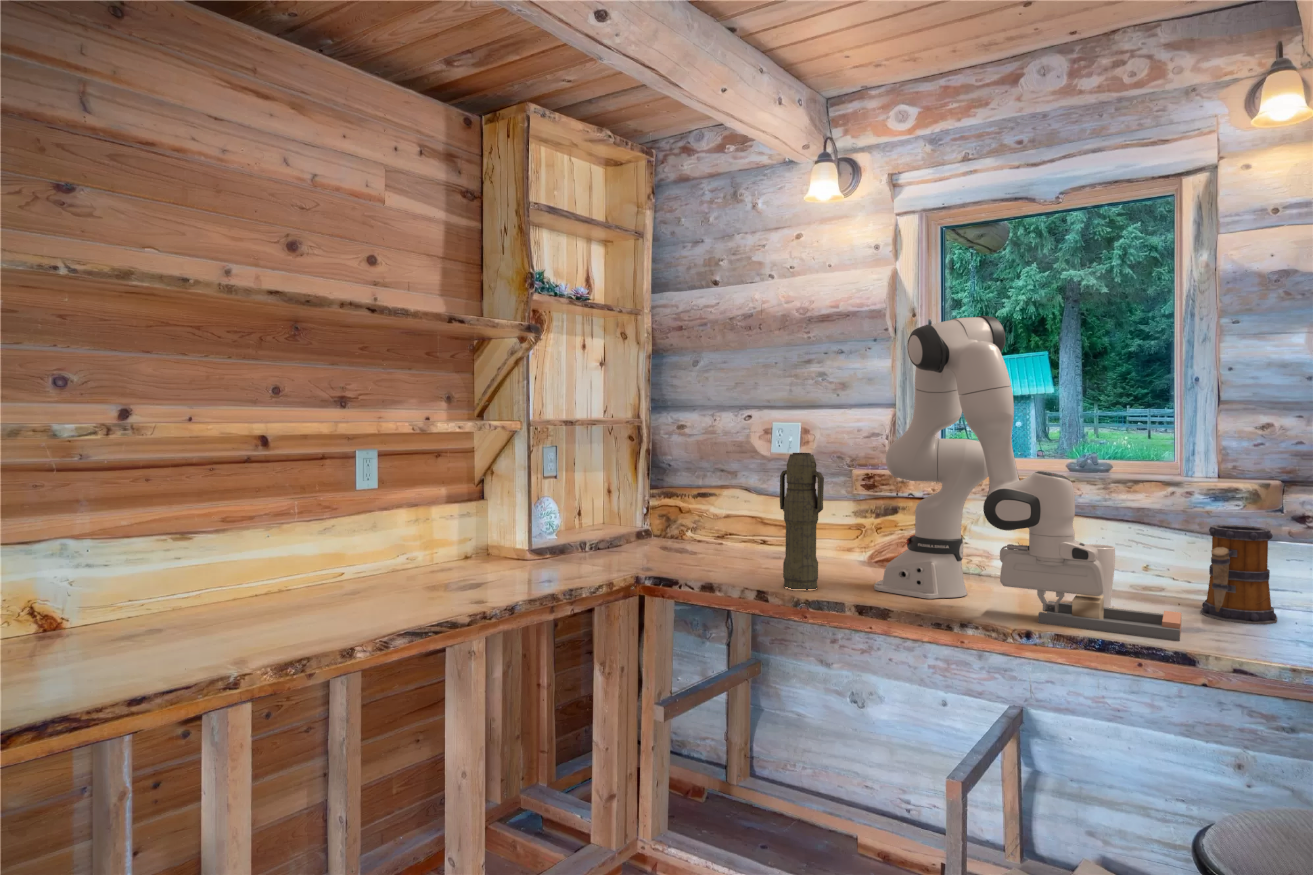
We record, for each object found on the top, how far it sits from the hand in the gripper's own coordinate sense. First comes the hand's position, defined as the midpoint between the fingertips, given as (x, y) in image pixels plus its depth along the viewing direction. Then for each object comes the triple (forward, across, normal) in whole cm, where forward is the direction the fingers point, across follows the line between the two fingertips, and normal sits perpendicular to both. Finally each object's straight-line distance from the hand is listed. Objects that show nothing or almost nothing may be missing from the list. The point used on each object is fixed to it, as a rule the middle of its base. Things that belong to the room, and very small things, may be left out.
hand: (1050, 611), depth 179 cm
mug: (+3, +33, +29) cm, 44 cm away
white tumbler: (+3, +7, +19) cm, 21 cm away
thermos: (+3, -60, +5) cm, 60 cm away
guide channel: (+3, +11, 0) cm, 12 cm away
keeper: (+1, +7, 0) cm, 7 cm away
